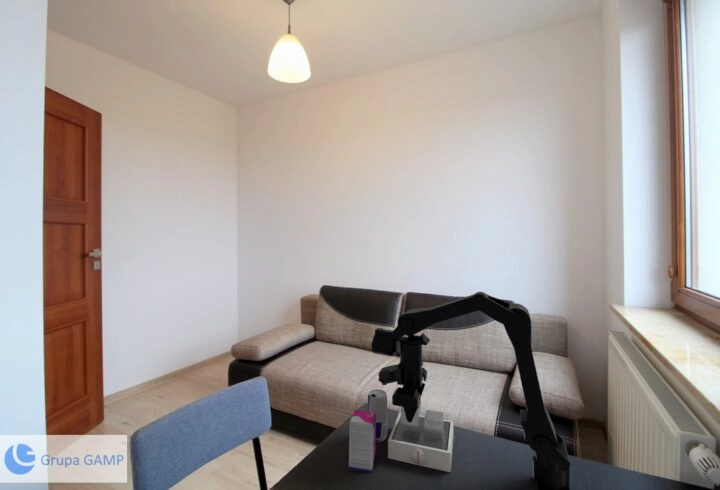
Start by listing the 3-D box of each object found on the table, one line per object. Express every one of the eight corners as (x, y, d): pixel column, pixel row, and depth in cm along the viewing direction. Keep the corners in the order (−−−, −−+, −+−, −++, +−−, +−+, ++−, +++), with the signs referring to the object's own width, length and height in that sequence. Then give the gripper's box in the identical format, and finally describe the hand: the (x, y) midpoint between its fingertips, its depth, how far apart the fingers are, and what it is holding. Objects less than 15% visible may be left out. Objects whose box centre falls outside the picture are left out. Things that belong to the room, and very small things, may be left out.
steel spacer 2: (443, 429, 84) (443, 412, 84) (442, 439, 80) (442, 421, 80) (426, 426, 86) (426, 409, 86) (424, 436, 81) (424, 418, 81)
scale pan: (449, 426, 87) (449, 422, 87) (446, 454, 76) (446, 450, 76) (402, 417, 92) (402, 414, 92) (392, 443, 80) (392, 439, 80)
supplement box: (372, 472, 75) (372, 424, 75) (348, 469, 76) (348, 421, 76) (376, 456, 80) (376, 411, 80) (353, 453, 82) (353, 408, 81)
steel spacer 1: (420, 417, 86) (420, 401, 86) (418, 427, 82) (418, 409, 82) (404, 414, 88) (404, 398, 87) (401, 423, 83) (400, 406, 83)
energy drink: (364, 433, 90) (364, 391, 90) (381, 429, 92) (381, 387, 92) (373, 444, 85) (373, 400, 85) (390, 439, 87) (390, 395, 87)
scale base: (453, 437, 88) (453, 421, 88) (450, 473, 74) (450, 454, 74) (399, 427, 93) (399, 411, 93) (387, 459, 79) (387, 441, 79)
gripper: (389, 344, 96) (389, 396, 96) (371, 368, 78) (371, 431, 78) (427, 348, 92) (427, 401, 93) (417, 374, 75) (417, 440, 75)
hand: (411, 417), depth 85 cm, fingers closed on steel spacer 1, 4 cm apart
